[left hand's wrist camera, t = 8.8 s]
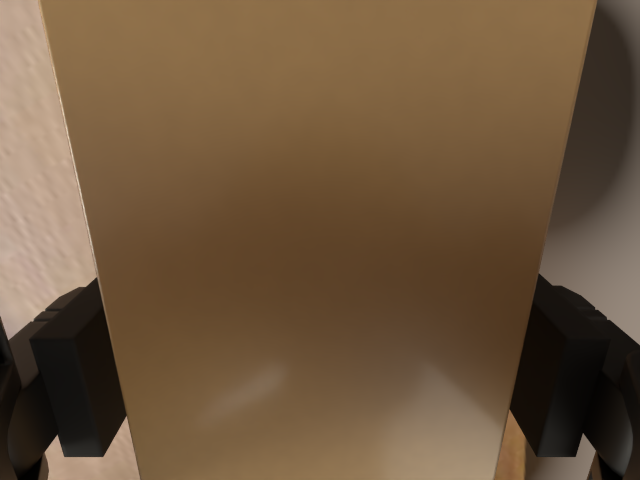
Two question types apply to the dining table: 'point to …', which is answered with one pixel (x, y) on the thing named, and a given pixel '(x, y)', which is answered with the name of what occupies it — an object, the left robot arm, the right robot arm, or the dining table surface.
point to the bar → (317, 221)
